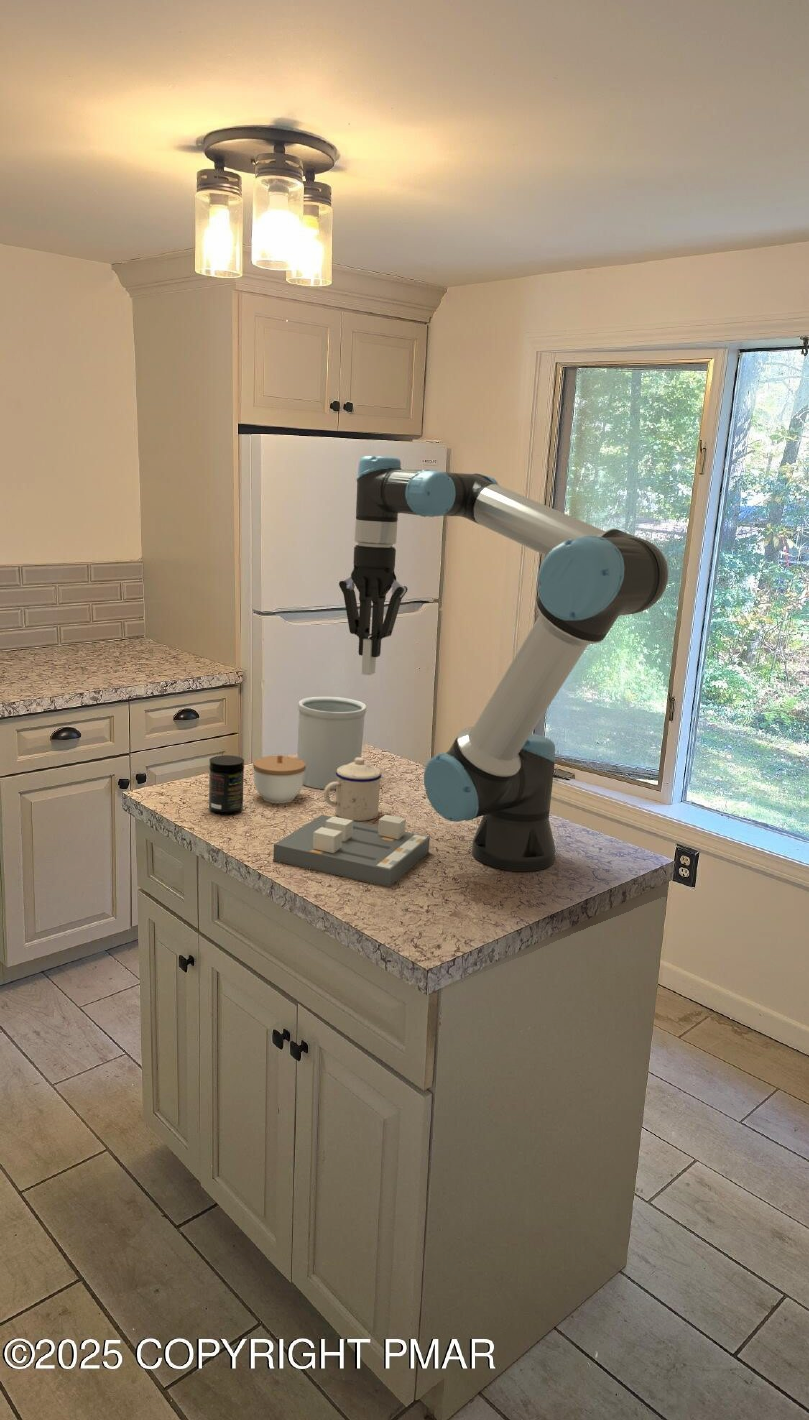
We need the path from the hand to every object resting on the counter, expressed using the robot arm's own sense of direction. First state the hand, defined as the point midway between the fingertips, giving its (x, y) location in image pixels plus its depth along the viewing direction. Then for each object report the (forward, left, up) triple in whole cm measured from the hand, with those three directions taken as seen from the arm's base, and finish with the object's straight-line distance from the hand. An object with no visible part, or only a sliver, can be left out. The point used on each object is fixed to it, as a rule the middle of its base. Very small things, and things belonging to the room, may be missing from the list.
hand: (368, 673), depth 181 cm
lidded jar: (+22, -7, -31) cm, 38 cm away
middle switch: (-2, +14, -27) cm, 31 cm away
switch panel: (-5, +14, -30) cm, 34 cm away
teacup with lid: (+5, -6, -31) cm, 32 cm away
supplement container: (+27, +5, -31) cm, 41 cm away
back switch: (-10, +8, -27) cm, 30 cm away
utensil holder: (+19, -24, -31) cm, 43 cm away
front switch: (-3, +20, -27) cm, 34 cm away
